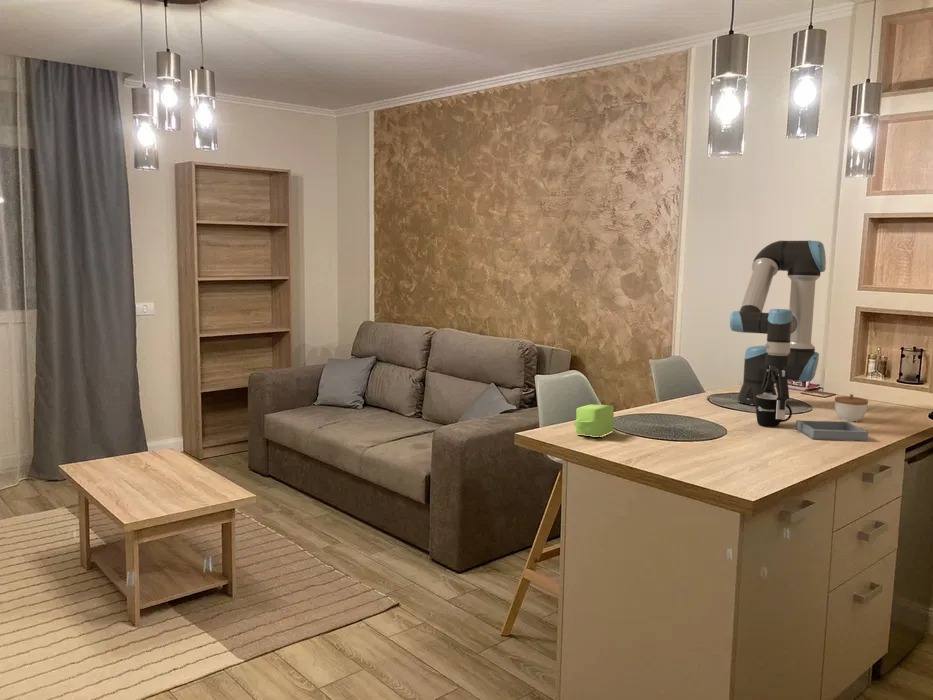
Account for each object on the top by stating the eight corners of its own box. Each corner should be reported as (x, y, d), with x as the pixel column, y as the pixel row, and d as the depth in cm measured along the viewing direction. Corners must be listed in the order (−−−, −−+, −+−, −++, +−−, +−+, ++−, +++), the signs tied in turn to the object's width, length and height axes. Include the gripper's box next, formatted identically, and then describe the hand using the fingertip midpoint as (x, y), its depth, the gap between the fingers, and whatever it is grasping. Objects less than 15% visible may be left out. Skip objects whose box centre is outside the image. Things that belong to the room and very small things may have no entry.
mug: (750, 425, 260) (752, 396, 259) (759, 421, 267) (761, 393, 266) (786, 431, 252) (788, 401, 251) (794, 426, 259) (796, 397, 258)
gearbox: (592, 428, 254) (592, 400, 254) (619, 431, 249) (619, 403, 248) (567, 437, 240) (567, 408, 239) (595, 440, 234) (595, 410, 233)
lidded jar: (863, 418, 275) (865, 393, 274) (868, 424, 265) (871, 398, 264) (831, 415, 278) (833, 391, 277) (835, 421, 268) (837, 396, 267)
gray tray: (795, 428, 256) (796, 420, 255) (846, 430, 255) (847, 421, 254) (812, 439, 241) (813, 430, 240) (867, 441, 240) (868, 432, 239)
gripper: (754, 349, 269) (750, 407, 271) (779, 358, 244) (774, 422, 247) (776, 350, 269) (772, 408, 271) (802, 358, 244) (797, 422, 246)
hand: (773, 415), depth 259 cm, fingers open, 13 cm apart
